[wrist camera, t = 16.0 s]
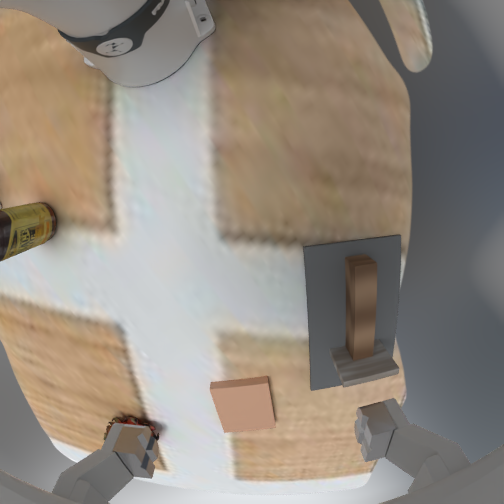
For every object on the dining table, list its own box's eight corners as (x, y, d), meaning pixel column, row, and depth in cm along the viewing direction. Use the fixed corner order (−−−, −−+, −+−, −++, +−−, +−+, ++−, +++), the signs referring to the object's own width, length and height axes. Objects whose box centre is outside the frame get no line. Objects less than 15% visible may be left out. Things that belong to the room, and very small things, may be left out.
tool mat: (303, 246, 38) (304, 247, 37) (399, 234, 38) (401, 235, 37) (310, 388, 44) (311, 390, 44) (388, 371, 44) (389, 373, 43)
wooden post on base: (326, 259, 38) (345, 281, 30) (381, 251, 38) (409, 270, 30) (329, 354, 42) (343, 387, 34) (377, 344, 42) (398, 373, 34)
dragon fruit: (108, 415, 48) (161, 410, 49) (119, 452, 45) (172, 448, 46) (89, 420, 40) (147, 416, 42) (102, 462, 37) (160, 460, 38)
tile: (209, 389, 42) (224, 432, 45) (268, 383, 41) (275, 427, 44) (211, 380, 44) (225, 423, 47) (267, 374, 44) (274, 418, 46)
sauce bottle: (44, 249, 37) (-46, 297, 18) (25, 219, 36) (-68, 252, 17) (66, 222, 36) (-33, 262, 17) (45, 190, 35) (-56, 212, 16)
